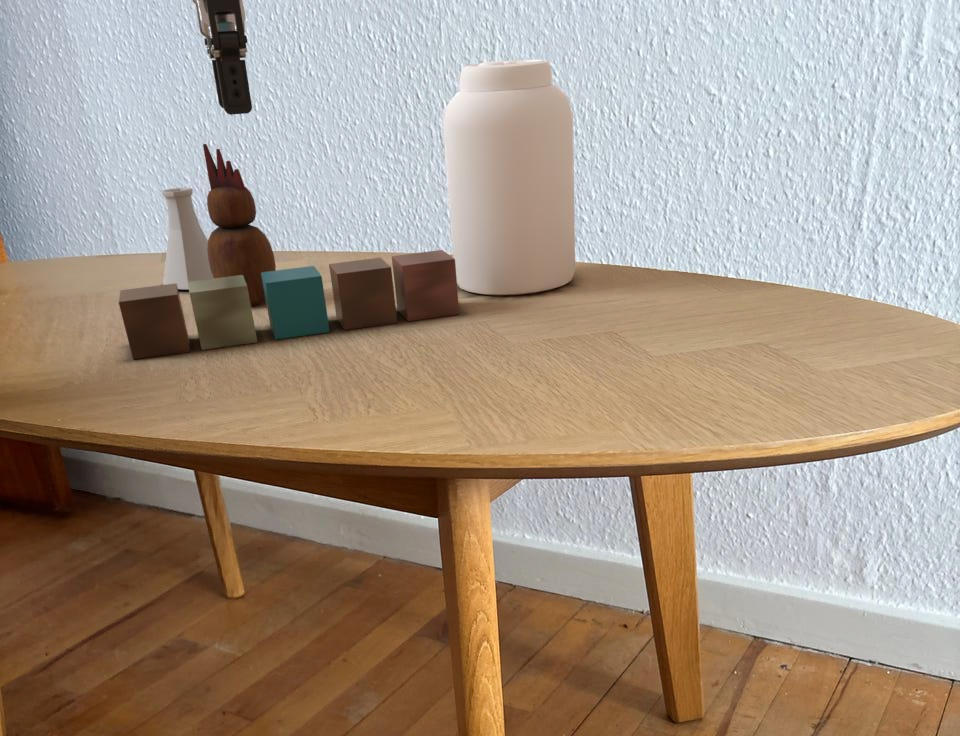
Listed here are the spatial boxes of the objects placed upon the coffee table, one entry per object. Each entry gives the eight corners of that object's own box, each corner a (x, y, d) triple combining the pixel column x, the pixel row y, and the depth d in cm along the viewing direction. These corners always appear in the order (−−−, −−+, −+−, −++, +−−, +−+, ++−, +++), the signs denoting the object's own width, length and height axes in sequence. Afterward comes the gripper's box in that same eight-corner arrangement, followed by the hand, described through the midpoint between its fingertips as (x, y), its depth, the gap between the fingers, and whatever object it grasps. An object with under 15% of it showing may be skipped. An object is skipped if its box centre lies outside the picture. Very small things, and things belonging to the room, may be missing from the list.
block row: (133, 359, 88) (118, 301, 85) (134, 345, 92) (120, 290, 89) (459, 314, 94) (455, 258, 91) (446, 303, 98) (442, 249, 95)
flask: (186, 294, 109) (165, 196, 104) (152, 287, 114) (129, 193, 108) (241, 280, 114) (223, 185, 108) (205, 274, 118) (186, 183, 113)
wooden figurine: (208, 304, 104) (175, 146, 97) (256, 292, 108) (227, 139, 100) (241, 313, 100) (210, 148, 92) (290, 301, 103) (263, 140, 95)
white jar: (453, 301, 98) (435, 68, 88) (457, 273, 109) (441, 63, 98) (580, 292, 98) (577, 58, 87) (571, 266, 108) (567, 54, 98)
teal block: (275, 339, 90) (265, 283, 88) (270, 327, 95) (260, 272, 92) (329, 332, 91) (321, 275, 89) (322, 319, 96) (314, 265, 93)
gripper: (146, -118, 80) (188, 110, 88) (143, -147, 68) (192, 119, 77) (240, -120, 81) (272, 104, 90) (254, -149, 70) (289, 112, 78)
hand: (235, 110), depth 83 cm, fingers open, 8 cm apart
